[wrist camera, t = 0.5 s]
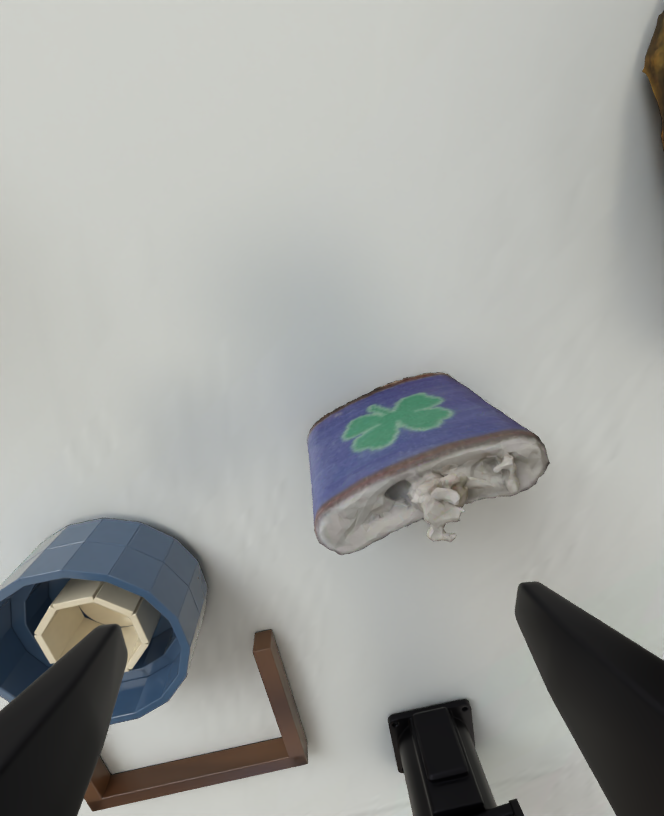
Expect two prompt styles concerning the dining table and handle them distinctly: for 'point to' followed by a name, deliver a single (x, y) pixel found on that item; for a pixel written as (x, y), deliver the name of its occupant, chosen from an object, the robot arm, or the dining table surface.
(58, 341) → the dining table surface
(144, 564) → the blue-grey round ring piece
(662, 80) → the pottery vessel
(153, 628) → the small bowl
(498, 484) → the flask
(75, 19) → the dining table surface
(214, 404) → the dining table surface
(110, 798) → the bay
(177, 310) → the dining table surface
